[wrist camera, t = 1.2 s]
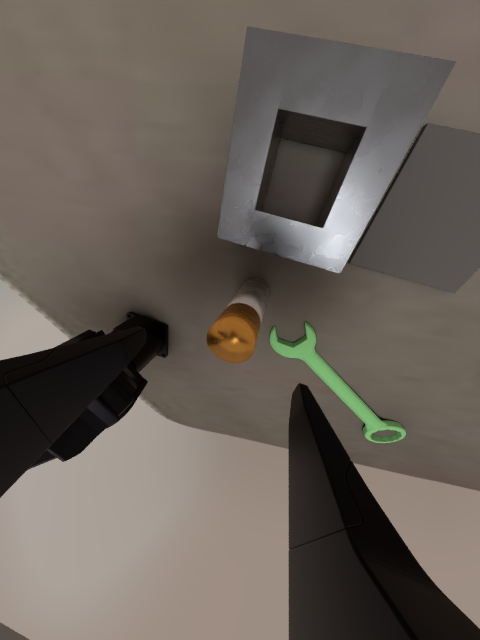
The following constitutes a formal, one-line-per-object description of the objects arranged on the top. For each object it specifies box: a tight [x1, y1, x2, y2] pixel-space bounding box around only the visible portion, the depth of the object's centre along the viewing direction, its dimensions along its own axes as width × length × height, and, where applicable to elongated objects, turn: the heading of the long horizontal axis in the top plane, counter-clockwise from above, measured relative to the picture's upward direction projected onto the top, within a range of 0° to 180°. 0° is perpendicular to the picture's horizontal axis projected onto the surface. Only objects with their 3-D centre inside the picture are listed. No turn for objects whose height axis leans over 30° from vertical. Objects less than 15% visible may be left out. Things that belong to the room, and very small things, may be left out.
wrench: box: [270, 322, 406, 443], centre depth 23 cm, size 25×2×5 cm
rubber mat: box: [348, 123, 480, 293], centre depth 13 cm, size 9×9×1 cm
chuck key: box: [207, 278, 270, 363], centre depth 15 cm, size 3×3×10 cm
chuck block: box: [217, 26, 456, 274], centre depth 13 cm, size 10×10×4 cm
